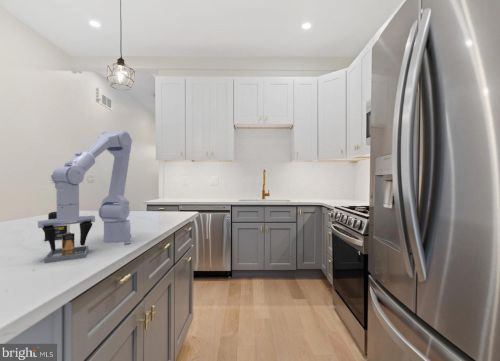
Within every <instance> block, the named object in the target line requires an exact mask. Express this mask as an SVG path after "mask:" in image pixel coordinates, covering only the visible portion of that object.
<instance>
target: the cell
mask: <svg viewBox="0 0 500 361" xmlns="http://www.w3.org/2000/svg"><path fill="white" fill-rule="evenodd" d="M61 248H62V253H61V256H66V255H74V254H76V252H75V232H71V231H70V232H67V233H66V234H62V240H61Z"/></svg>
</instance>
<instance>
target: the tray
mask: <svg viewBox="0 0 500 361" xmlns="http://www.w3.org/2000/svg"><path fill="white" fill-rule="evenodd" d="M81 251H82V253H78V254H77V253H76V252H81ZM88 252H89V245H84V246H82V245H81V246H76V247H75V254H74V255H66V256H62V255H60V254H62V249H57V248H55V251H52V250H51V249H50V251H49V253H48V254H47V255H46V256H45V257H44V264H49V263H58V262H64V261H73V260H80V259H86V258H87V256H88ZM57 254H59V256H53V255H57Z"/></svg>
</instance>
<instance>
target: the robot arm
mask: <svg viewBox="0 0 500 361" xmlns="http://www.w3.org/2000/svg"><path fill="white" fill-rule="evenodd" d="M132 143H133V139H132V137H131V136H130V133H129V132H128V131H126V130H121V131H120V130H119V131H103V132H101V133H100V134H99V135H97V140H95V141H94V142H93V143H92V145H91V146H90V147H88V149H87V150H86V151H85V150H84V151H83V150H82V151H77V152H75V153H74V156H73V157H72V158H71V159H70V160H68V161H66V162H65V163H64V165H62V166H58V167H56V168H55V169H54V170H53V171H52V174H51V175H50V177H51V180H52V182H53V183H54V188H55V190H56V212H57V219H49V220H48V219H43V220H37V228H39V229H42V232H44V235H45V234H46V236H47V238H48V240H49V241H48V243H49V246H50V251H51V250H52V251H55V249H56V240H55V230H56V229H54V227H53V226H59V225H68V224H70V225H75V224H79V231H80V232H79V234H80V237H79V238H80V239H79V240H80V241H79V245H81V247H82V246H86V241H87V238H88V235H89V232H90V230H91V229H92V227H93V223H95V222H96V216H95V215H84V216H83V215H82V216H80V184H81V183H82V182H83V181H84V179H85V175H86V174H87V171H89V170H90V169H91V168H92V167H93V166H94V165H95V163H96V158H98V156H100V155H101V154H102V153H104V151H107V152H108V153H109V154H111V155H112V156H113V157H114V158H113V159H114V160H113V164H112V171H111V177H110V184H109V189H108V195H107V196H106V197H105V198H103V199H102V200H101V205H100V207H99V208H98V216H99V217H100V219H101V221H102V222H103V242H104V243H106V244H107V243H108V244H114V243H121V242H123V245H128V244H129V245H130V244H131V238H132V233H131V220H130V219H128V217H129V215H130V212H131V211H130V201H129V200H127V198H126V197H125V191H126V183H127V176H128V171H129V161H130V158H131V157H130V155H131V149H132ZM64 222H69V223H64Z"/></svg>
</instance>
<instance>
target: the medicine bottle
mask: <svg viewBox="0 0 500 361" xmlns="http://www.w3.org/2000/svg"><path fill="white" fill-rule="evenodd" d="M47 218H48V219H47V220H49V219H57V211H52V212H49V213H48V216H47ZM64 223H69V222H64ZM53 227H54V229H56V230H55V241H62V234H66V233H67V232H71V224H68V225H59V226H53ZM44 242H49V240H48V238H47V236H46V234H45V233H44Z"/></svg>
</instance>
